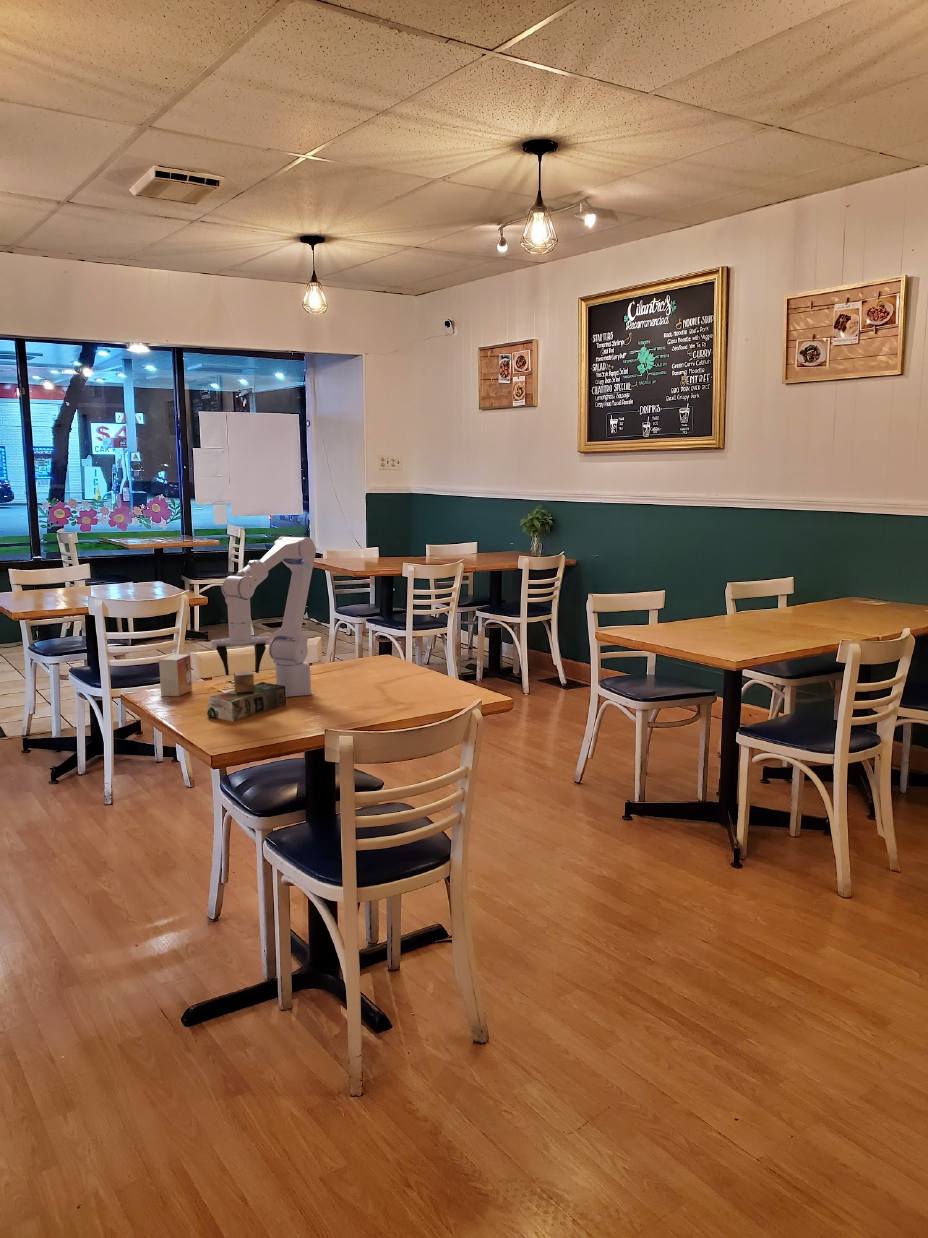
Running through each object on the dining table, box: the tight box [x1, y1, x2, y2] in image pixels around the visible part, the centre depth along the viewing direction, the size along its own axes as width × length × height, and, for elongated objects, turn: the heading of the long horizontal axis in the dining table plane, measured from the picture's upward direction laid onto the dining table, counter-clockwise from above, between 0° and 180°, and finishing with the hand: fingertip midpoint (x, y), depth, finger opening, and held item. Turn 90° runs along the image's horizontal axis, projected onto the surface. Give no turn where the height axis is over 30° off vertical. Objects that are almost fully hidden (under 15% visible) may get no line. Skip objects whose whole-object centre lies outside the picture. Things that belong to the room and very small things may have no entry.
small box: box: [158, 653, 193, 697], centre depth 263 cm, size 8×6×10 cm
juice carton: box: [206, 681, 287, 722], centre depth 244 cm, size 20×10×6 cm, turn 146°
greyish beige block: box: [233, 670, 255, 693], centre depth 244 cm, size 4×4×4 cm
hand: (242, 673), depth 244 cm, fingers open, 7 cm apart
